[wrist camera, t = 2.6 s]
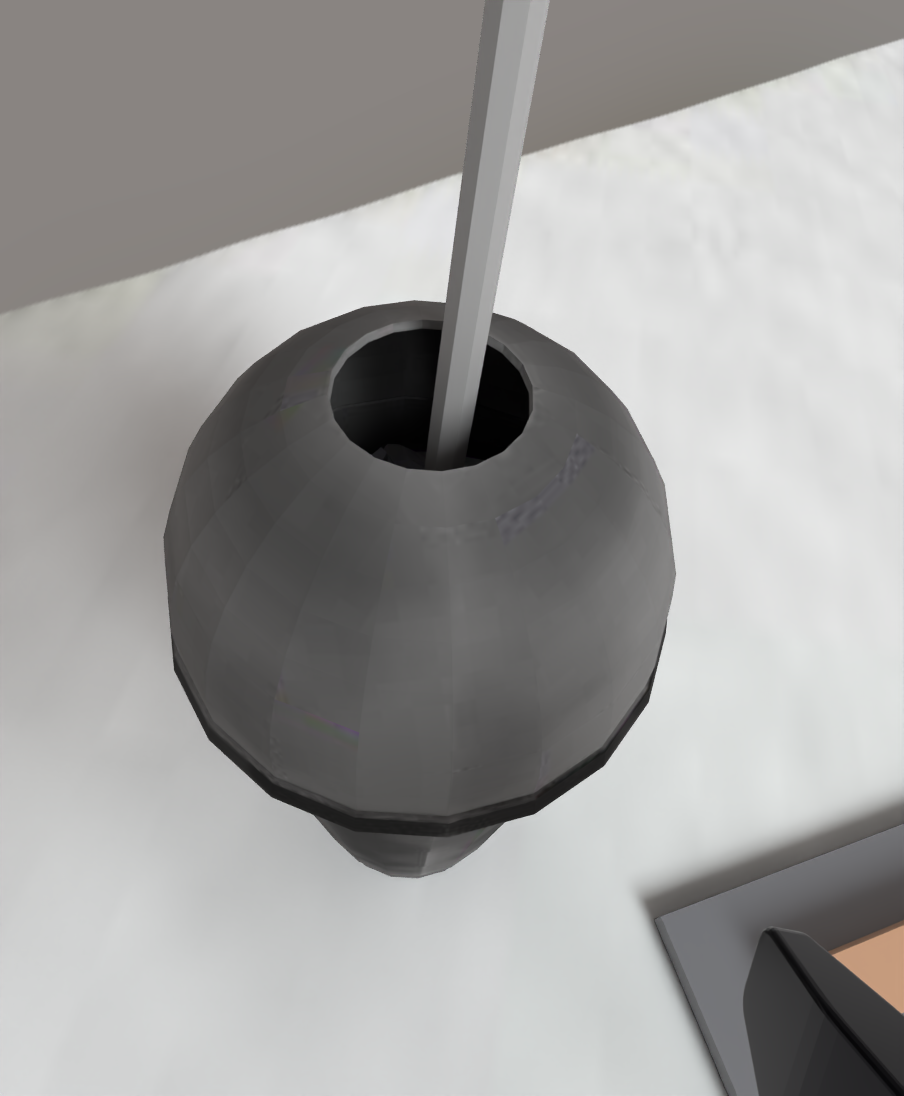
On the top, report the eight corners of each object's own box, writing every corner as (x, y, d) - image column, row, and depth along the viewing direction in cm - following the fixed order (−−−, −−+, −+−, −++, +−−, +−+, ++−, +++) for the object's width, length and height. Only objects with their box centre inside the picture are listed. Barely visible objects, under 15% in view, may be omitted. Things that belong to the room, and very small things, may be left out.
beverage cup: (219, 839, 20) (-745, -210, 3) (371, 626, 24) (305, -398, 7) (461, 1000, 18) (1163, 619, 2) (585, 744, 22) (1205, -215, 5)
